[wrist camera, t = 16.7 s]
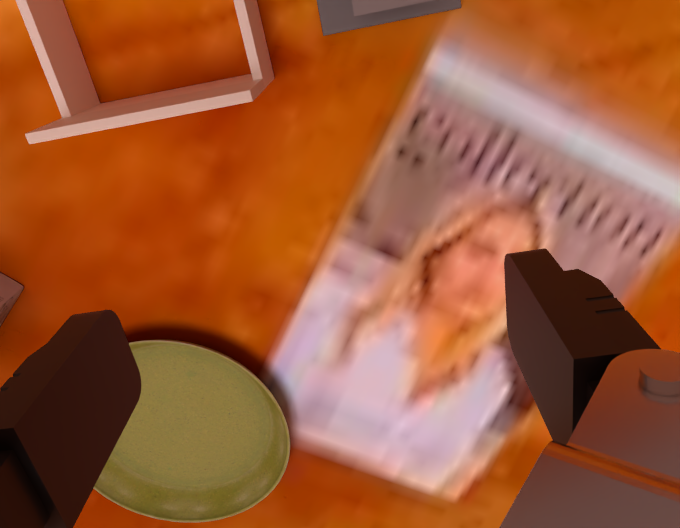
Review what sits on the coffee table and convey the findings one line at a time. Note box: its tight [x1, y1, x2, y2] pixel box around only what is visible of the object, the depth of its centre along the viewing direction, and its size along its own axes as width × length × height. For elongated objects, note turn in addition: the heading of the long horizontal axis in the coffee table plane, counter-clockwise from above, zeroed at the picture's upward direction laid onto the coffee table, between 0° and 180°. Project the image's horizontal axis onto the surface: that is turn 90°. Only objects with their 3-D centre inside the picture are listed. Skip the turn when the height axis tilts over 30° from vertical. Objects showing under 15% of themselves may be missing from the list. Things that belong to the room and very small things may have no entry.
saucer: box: [94, 339, 290, 522], centre depth 51 cm, size 21×21×3 cm
